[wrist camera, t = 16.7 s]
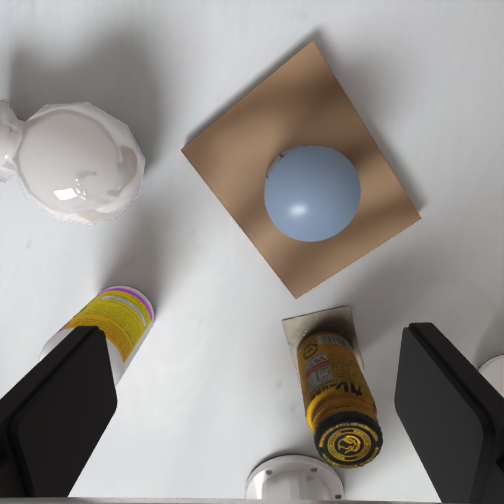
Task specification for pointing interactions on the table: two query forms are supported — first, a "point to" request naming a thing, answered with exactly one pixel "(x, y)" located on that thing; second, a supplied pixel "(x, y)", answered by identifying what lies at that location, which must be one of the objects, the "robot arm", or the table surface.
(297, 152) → the cap
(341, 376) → the condiment
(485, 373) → the lidded jar
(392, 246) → the table surface
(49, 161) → the potion bottle
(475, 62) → the table surface
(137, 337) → the supplement bottle
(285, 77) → the post base
